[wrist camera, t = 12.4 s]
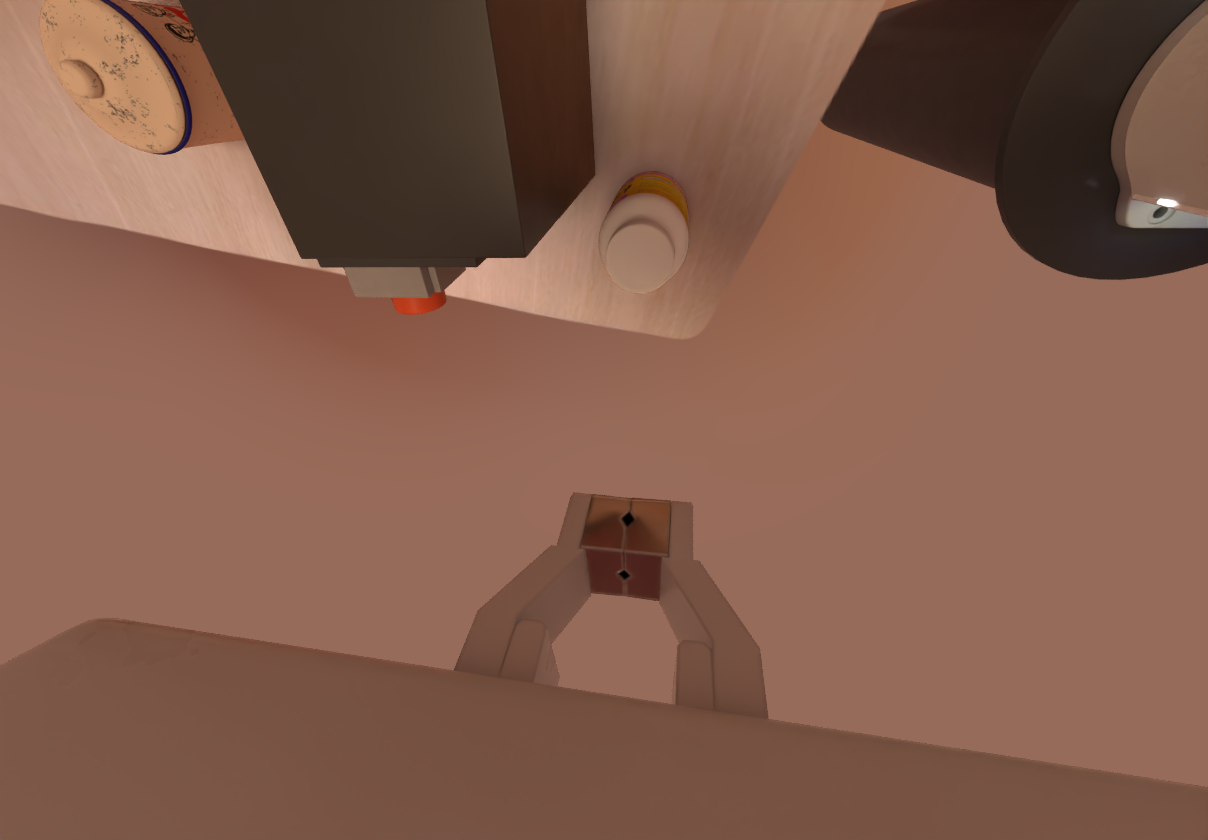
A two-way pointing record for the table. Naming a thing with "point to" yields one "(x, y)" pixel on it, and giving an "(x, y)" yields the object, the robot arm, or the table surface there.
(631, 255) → the supplement bottle
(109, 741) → the robot arm
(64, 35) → the teacup with lid
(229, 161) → the table surface
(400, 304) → the power button
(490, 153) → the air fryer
